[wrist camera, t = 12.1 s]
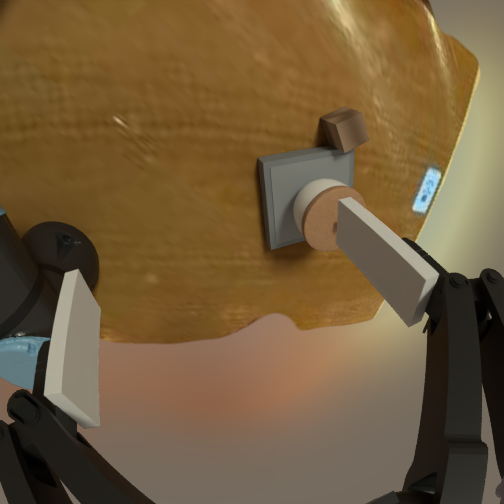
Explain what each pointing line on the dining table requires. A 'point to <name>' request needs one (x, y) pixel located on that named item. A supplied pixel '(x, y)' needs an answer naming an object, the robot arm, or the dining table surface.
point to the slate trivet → (296, 186)
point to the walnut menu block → (345, 129)
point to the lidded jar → (321, 211)
